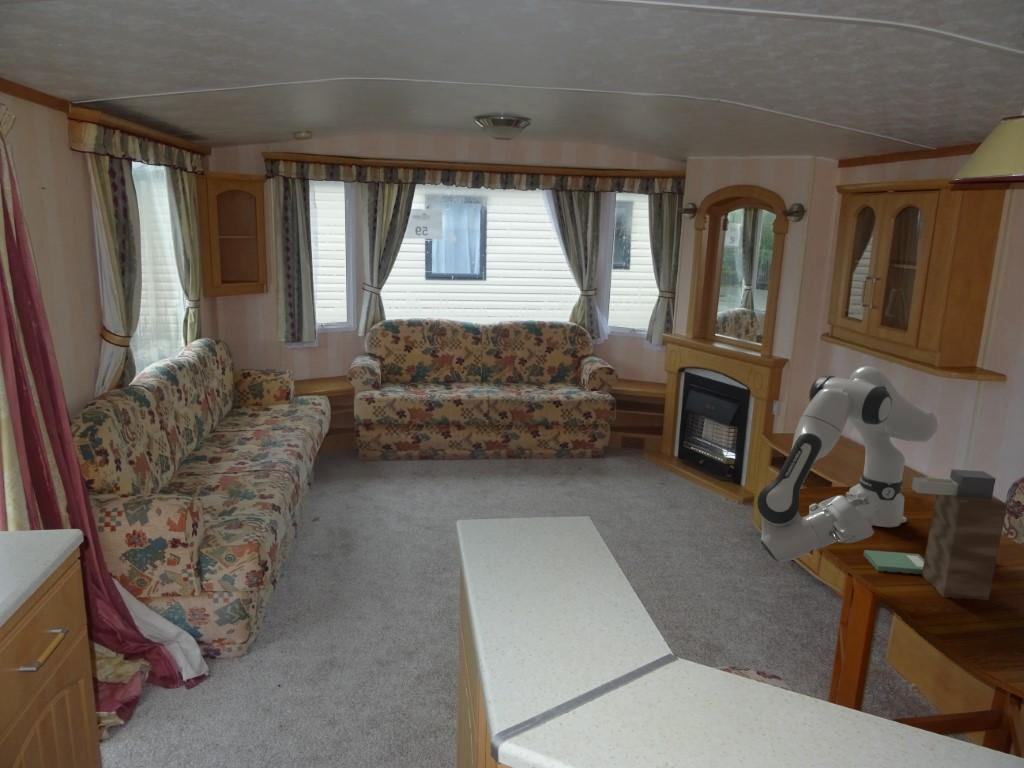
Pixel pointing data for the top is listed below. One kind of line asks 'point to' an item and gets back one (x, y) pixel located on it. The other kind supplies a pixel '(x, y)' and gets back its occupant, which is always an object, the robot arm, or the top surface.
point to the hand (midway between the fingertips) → (875, 505)
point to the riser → (963, 545)
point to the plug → (958, 484)
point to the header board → (895, 561)
